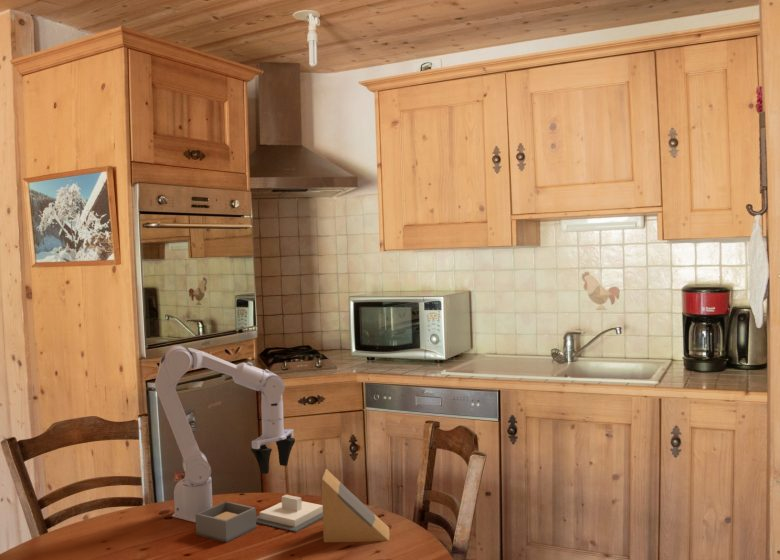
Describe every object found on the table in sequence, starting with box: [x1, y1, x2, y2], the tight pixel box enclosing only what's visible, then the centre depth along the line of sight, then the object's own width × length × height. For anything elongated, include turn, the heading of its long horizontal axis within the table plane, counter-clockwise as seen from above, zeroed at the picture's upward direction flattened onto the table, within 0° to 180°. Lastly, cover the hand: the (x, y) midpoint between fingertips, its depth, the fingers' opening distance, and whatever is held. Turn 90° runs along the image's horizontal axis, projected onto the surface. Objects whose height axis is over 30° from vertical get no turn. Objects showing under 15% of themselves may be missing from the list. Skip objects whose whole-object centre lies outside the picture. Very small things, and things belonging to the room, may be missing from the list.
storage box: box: [195, 500, 257, 543], centre depth 170 cm, size 10×10×5 cm
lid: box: [259, 494, 323, 527], centre depth 178 cm, size 11×11×5 cm
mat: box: [256, 512, 323, 533], centre depth 178 cm, size 15×15×1 cm
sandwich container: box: [321, 468, 390, 543], centre depth 166 cm, size 9×15×15 cm, turn 90°
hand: (274, 469), depth 188 cm, fingers open, 7 cm apart
